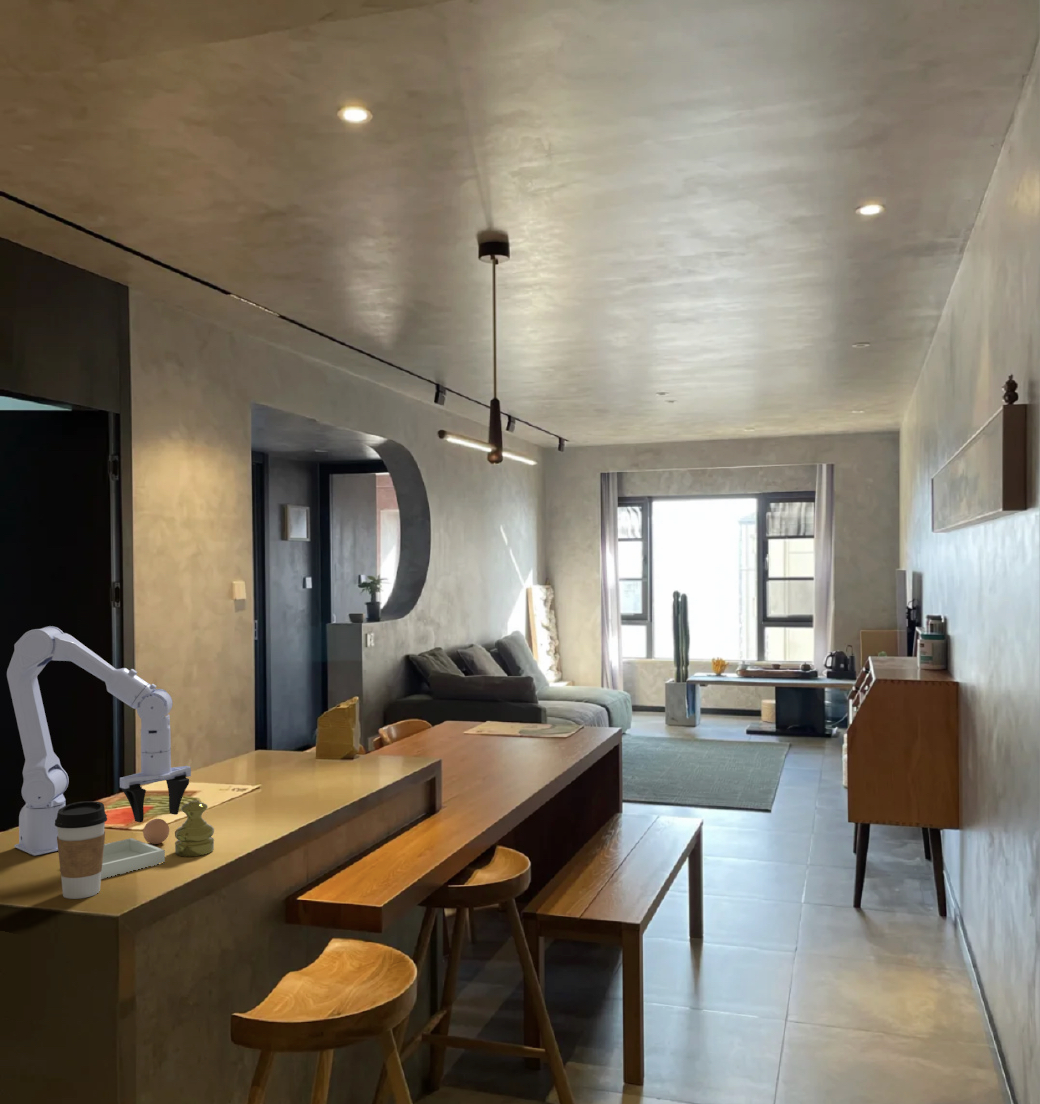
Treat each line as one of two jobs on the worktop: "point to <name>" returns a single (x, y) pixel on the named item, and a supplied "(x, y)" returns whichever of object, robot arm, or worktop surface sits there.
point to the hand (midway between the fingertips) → (156, 817)
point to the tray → (129, 857)
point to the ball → (156, 831)
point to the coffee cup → (81, 847)
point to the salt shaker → (194, 832)
